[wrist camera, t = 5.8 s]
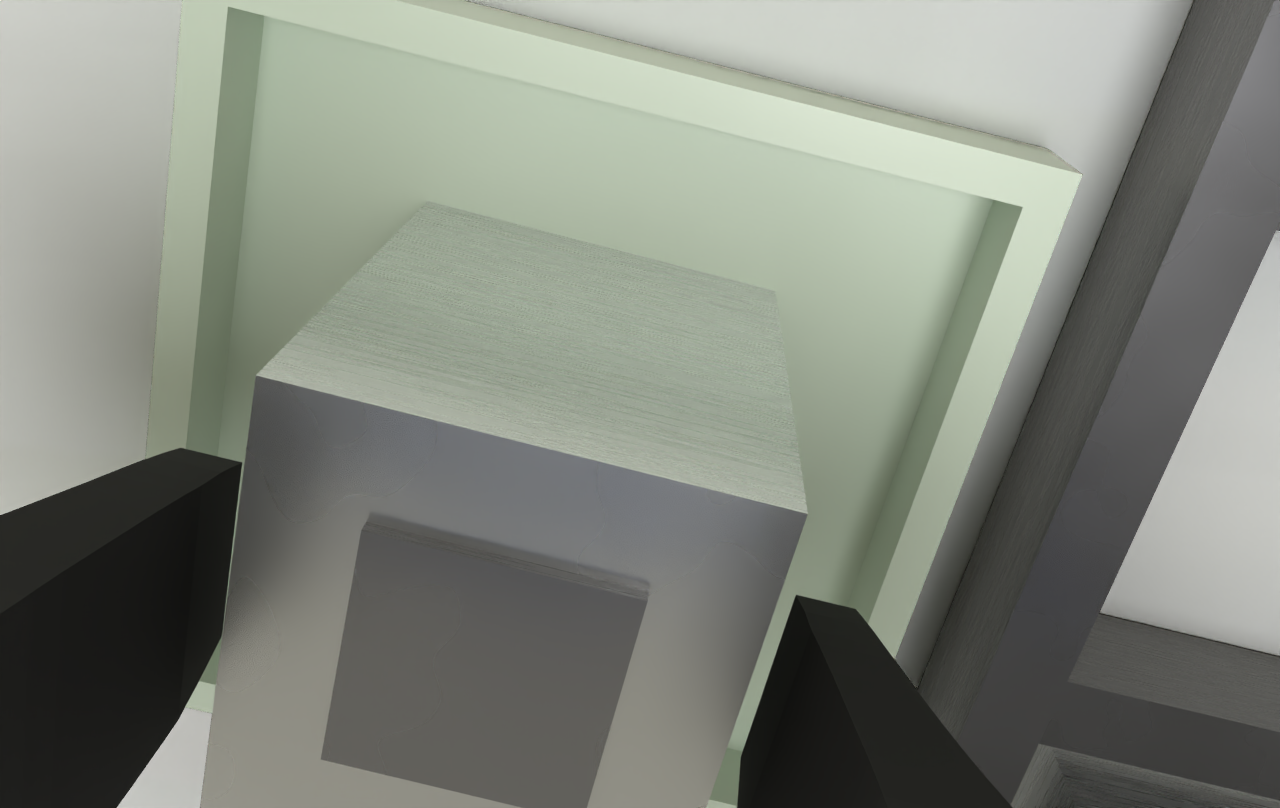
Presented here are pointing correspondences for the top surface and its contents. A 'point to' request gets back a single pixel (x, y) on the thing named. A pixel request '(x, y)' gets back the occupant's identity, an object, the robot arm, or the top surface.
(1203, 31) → the rack frame
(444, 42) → the parts tray
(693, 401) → the grey box
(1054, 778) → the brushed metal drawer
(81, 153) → the top surface
